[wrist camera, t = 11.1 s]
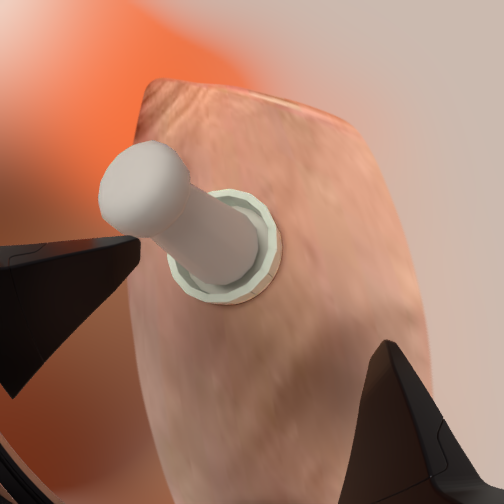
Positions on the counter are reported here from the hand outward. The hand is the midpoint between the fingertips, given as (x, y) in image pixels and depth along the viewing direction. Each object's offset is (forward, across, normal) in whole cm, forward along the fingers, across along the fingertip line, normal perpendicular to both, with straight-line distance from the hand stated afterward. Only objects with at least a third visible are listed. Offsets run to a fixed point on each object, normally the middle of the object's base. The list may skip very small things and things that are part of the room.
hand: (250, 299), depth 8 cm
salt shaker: (+12, +5, +5) cm, 14 cm away
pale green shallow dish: (+12, +5, +6) cm, 14 cm away
